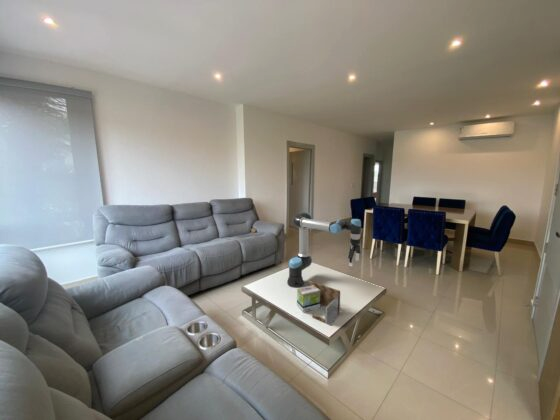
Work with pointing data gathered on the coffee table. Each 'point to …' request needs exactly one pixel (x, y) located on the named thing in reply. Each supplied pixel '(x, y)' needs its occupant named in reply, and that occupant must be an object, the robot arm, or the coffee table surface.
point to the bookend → (332, 311)
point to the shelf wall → (325, 297)
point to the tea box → (308, 298)
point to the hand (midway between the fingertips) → (354, 263)
